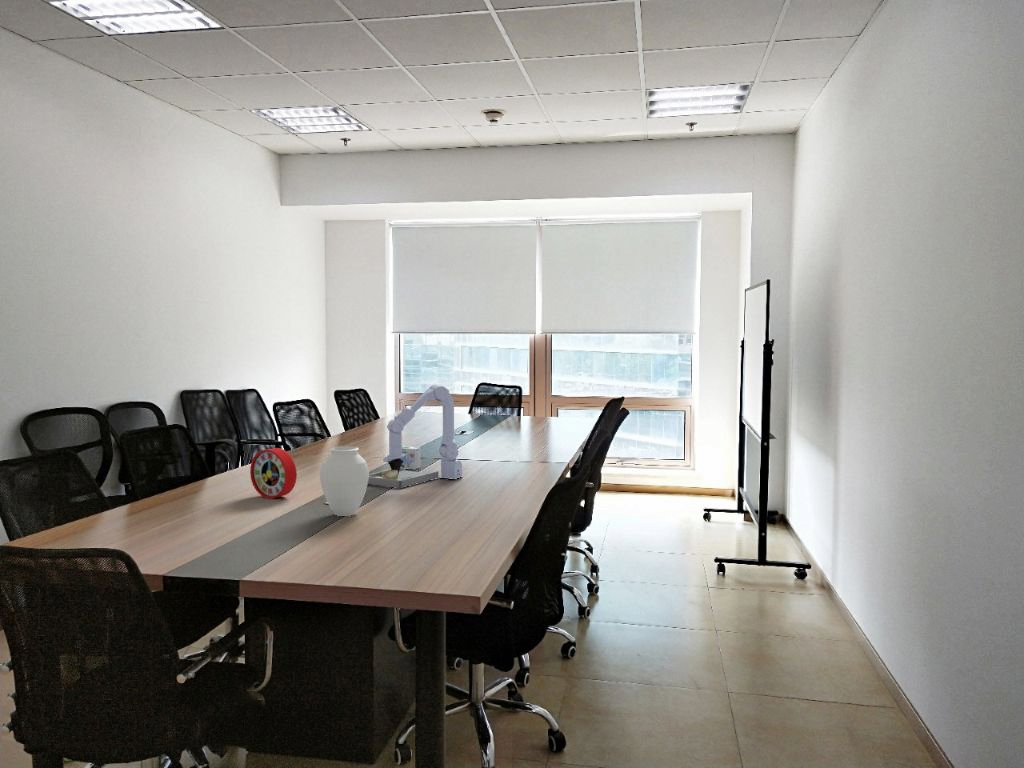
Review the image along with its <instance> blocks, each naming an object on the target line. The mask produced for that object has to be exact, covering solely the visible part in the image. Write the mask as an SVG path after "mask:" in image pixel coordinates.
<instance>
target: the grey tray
mask: <svg viewBox="0 0 1024 768" xmlns="http://www.w3.org/2000/svg"><path fill="white" fill-rule="evenodd" d="M382 471H383V470H382ZM382 471H378V472H373V473H369V479H368V484H374V485H373V486H375V485H381V486H380V487H383V486H388V487H387V488H390V487H396V488H395V489H397V488H402V487H405V486H409V485H413V484H416V483H420V482H424V481H428V480H431V479H435V478H438V477H439V470H435V471H432V472H421V471H415V470H406V469H403V467H400V470H399V474H398V479H396V480H393V479H386V478H382ZM438 479H439V478H438ZM428 482H429V481H428ZM424 483H425V482H424ZM368 484H367V485H368ZM420 484H421V483H420ZM413 486H414V485H413ZM409 487H410V486H409ZM405 488H406V487H405ZM402 489H403V488H402Z"/></svg>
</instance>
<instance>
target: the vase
mask: <svg viewBox="0 0 1024 768" xmlns="http://www.w3.org/2000/svg"><path fill="white" fill-rule="evenodd" d="M329 450H330V455H329V456H328V457H326V459H325V460H324V461H323V463H322V464H321V466H320V473H319V479H320V483H321V488H322V492H323V495H324V498H325V500H326V502H327V504H328V506H329V508H330V509H331V511H332V512H333V513H334V515H335V516H336V515H337V516H336V517H339V516H348V517H352V516H351V515H353V516H355V514H356V512H357V511H358V510H359V508H360V507H361V504H362V502H363V500H364V497H365V495H366V491H367V487H368V479H369V474H370V471H369V465H368V464H367V461H366V460H365V458H363V457H362V455H360V454H359V452H358V451H359V450H360V449H359V447H357V446H351V445H346V446H345V445H343V446H341V445H340V446H333V447H332V448H331V447H330V449H329Z"/></svg>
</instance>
